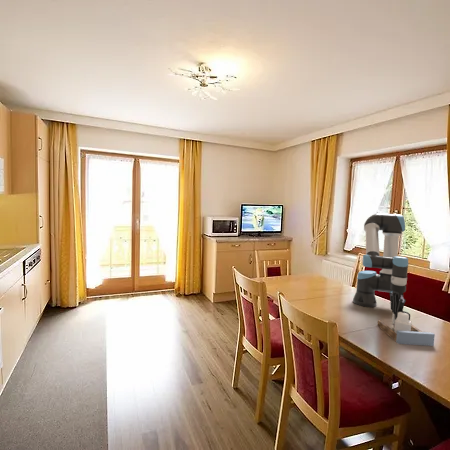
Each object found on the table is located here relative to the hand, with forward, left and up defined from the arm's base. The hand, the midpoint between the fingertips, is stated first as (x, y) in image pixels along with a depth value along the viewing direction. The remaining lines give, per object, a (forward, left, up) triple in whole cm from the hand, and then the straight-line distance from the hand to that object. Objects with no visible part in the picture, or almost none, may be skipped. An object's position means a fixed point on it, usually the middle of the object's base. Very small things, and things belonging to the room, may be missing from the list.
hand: (395, 324), depth 162 cm
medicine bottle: (+7, 0, -2) cm, 8 cm away
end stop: (+19, 0, -2) cm, 19 cm away
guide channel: (+8, 0, -2) cm, 8 cm away
